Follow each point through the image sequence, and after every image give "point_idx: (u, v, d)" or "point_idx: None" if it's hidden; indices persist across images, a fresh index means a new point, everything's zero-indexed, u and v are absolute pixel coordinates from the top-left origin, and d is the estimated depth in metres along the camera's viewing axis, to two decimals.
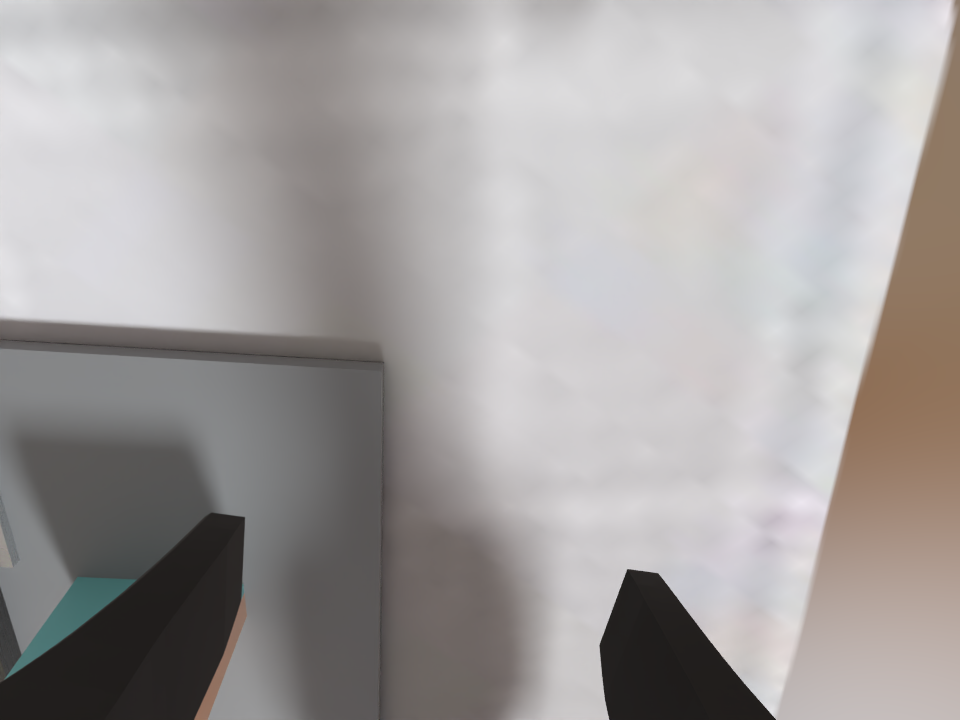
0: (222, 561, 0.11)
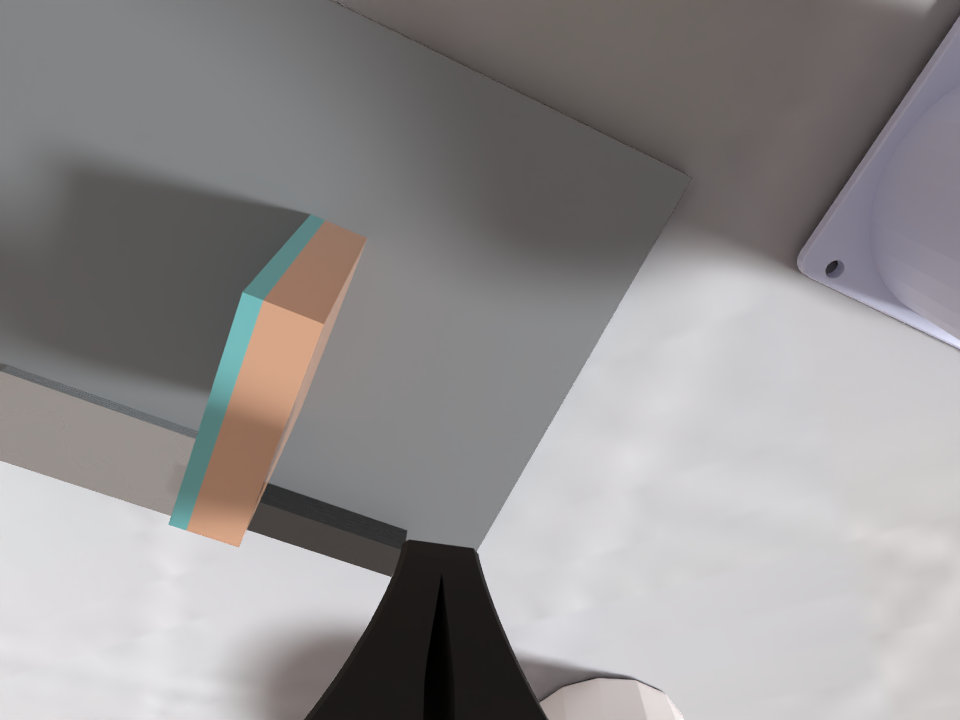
0: None
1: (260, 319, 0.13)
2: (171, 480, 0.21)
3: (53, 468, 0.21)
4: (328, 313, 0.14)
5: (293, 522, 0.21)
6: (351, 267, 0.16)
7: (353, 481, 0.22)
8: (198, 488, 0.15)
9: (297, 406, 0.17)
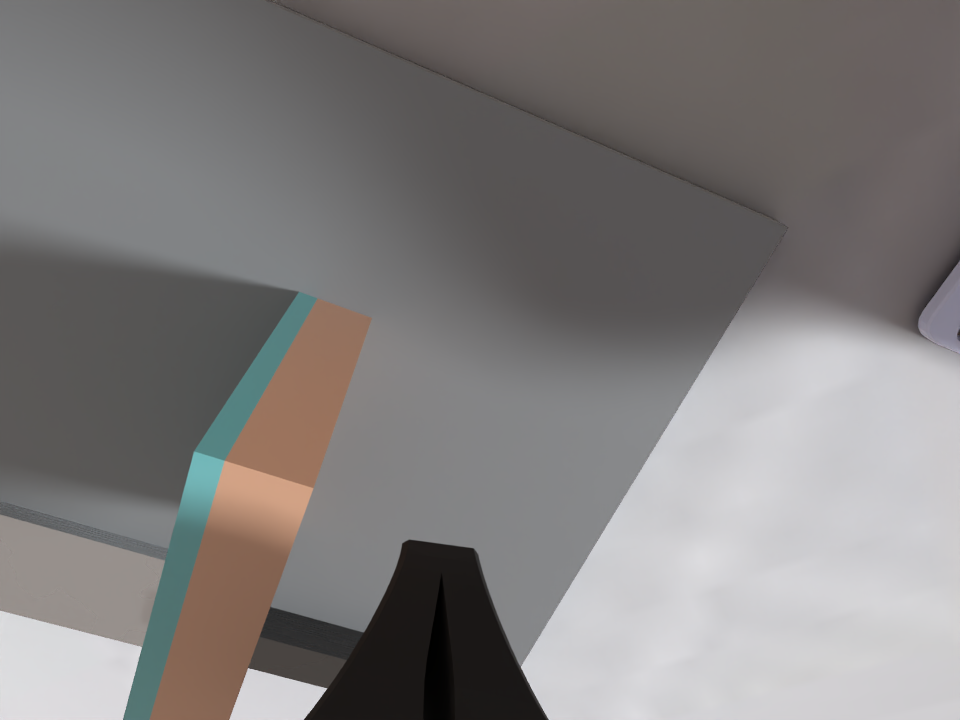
0: None
1: (222, 485, 0.09)
2: (144, 609, 0.17)
3: (1, 601, 0.17)
4: (320, 464, 0.10)
5: (294, 656, 0.17)
6: (352, 371, 0.12)
7: (366, 600, 0.18)
8: (154, 693, 0.11)
9: None
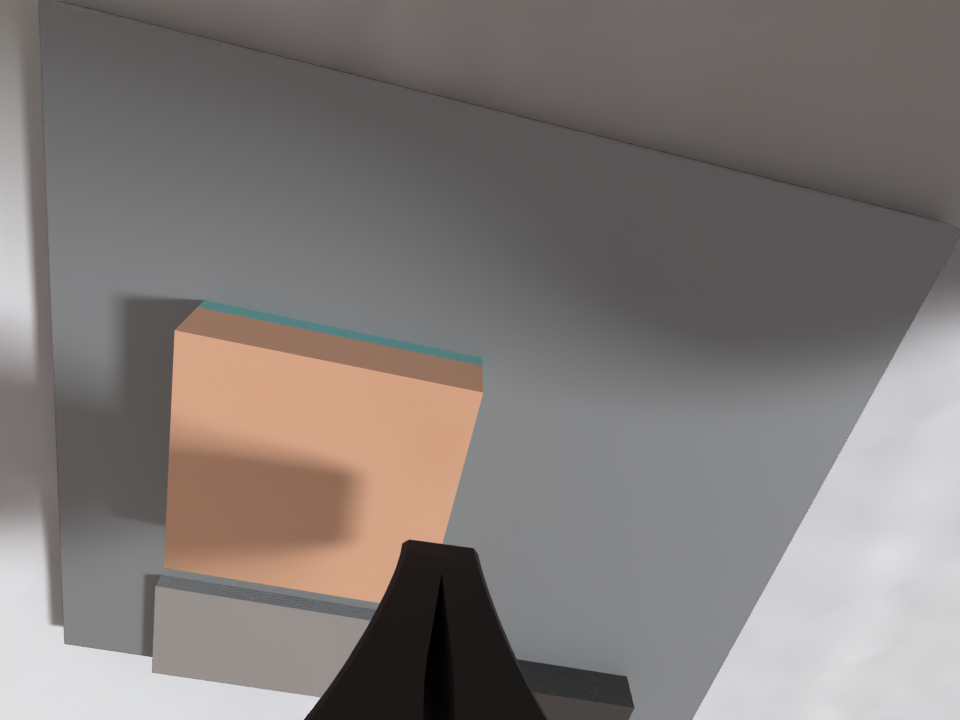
0: None
1: None
2: None
3: (225, 674, 0.19)
4: (205, 336, 0.13)
5: None
6: (356, 367, 0.13)
7: (560, 635, 0.19)
8: None
9: (288, 503, 0.15)
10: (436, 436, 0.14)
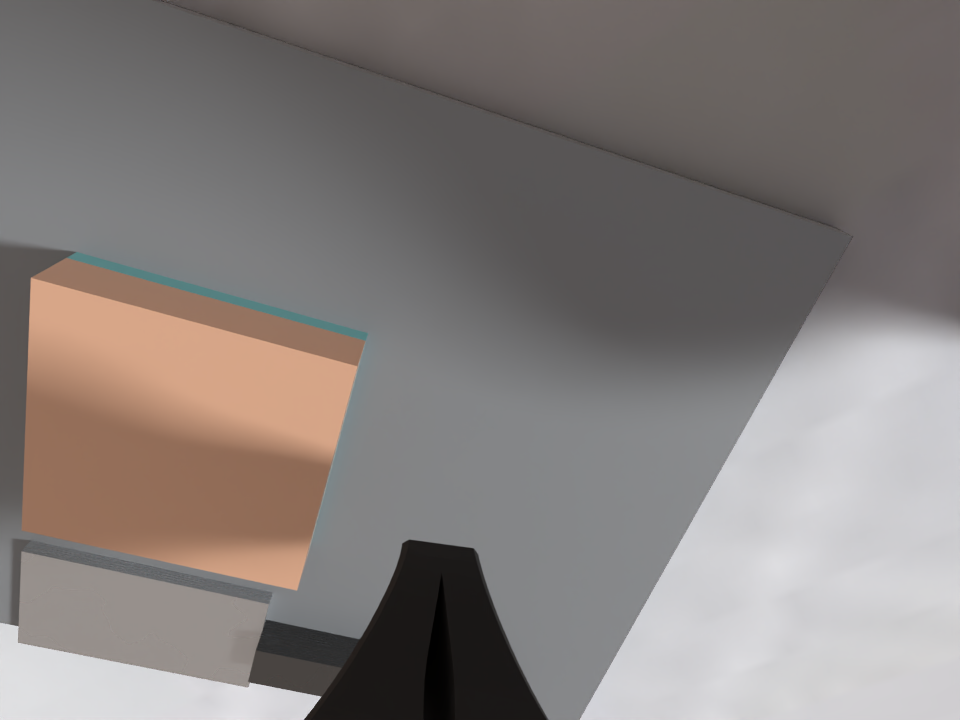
0: None
1: None
2: (233, 648, 0.18)
3: (96, 649, 0.18)
4: (63, 286, 0.12)
5: None
6: (225, 330, 0.13)
7: None
8: None
9: (153, 469, 0.14)
10: (308, 409, 0.13)
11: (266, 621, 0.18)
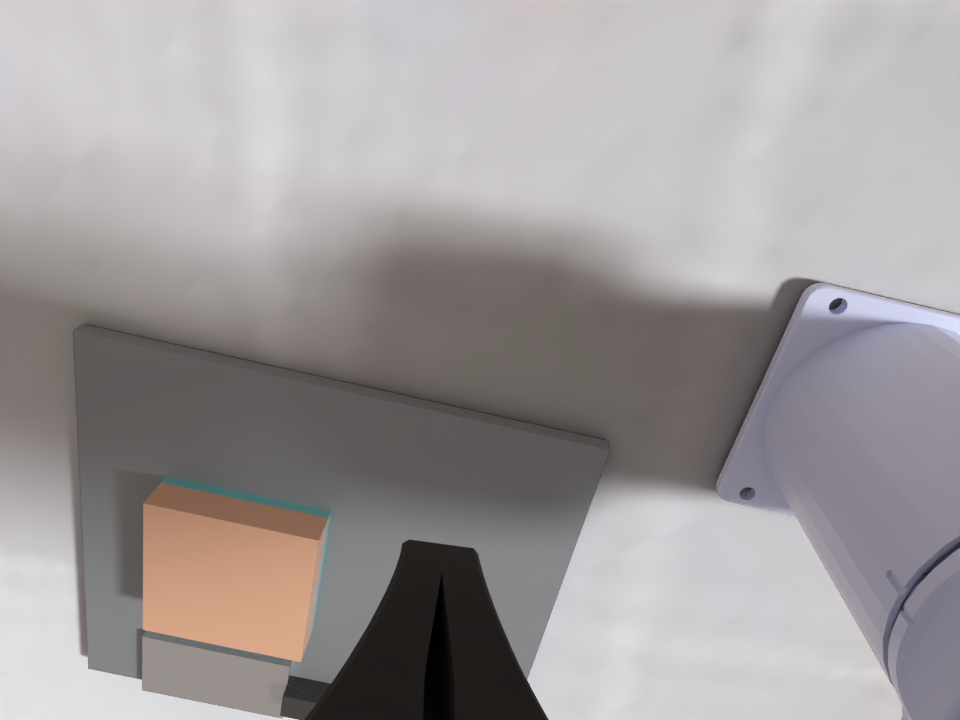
0: None
1: None
2: (270, 693, 0.28)
3: (188, 694, 0.29)
4: (160, 506, 0.23)
5: None
6: (245, 524, 0.23)
7: None
8: None
9: (212, 596, 0.24)
10: (295, 563, 0.24)
11: (290, 676, 0.28)
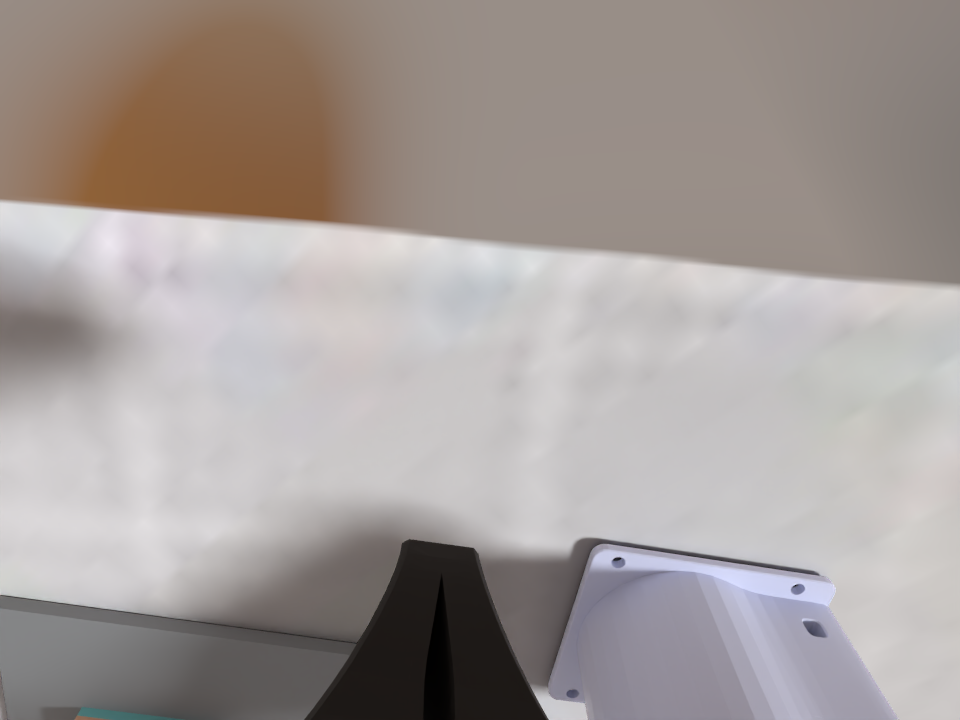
0: None
1: None
2: None
3: None
4: None
5: None
6: None
7: None
8: None
9: None
10: None
11: None
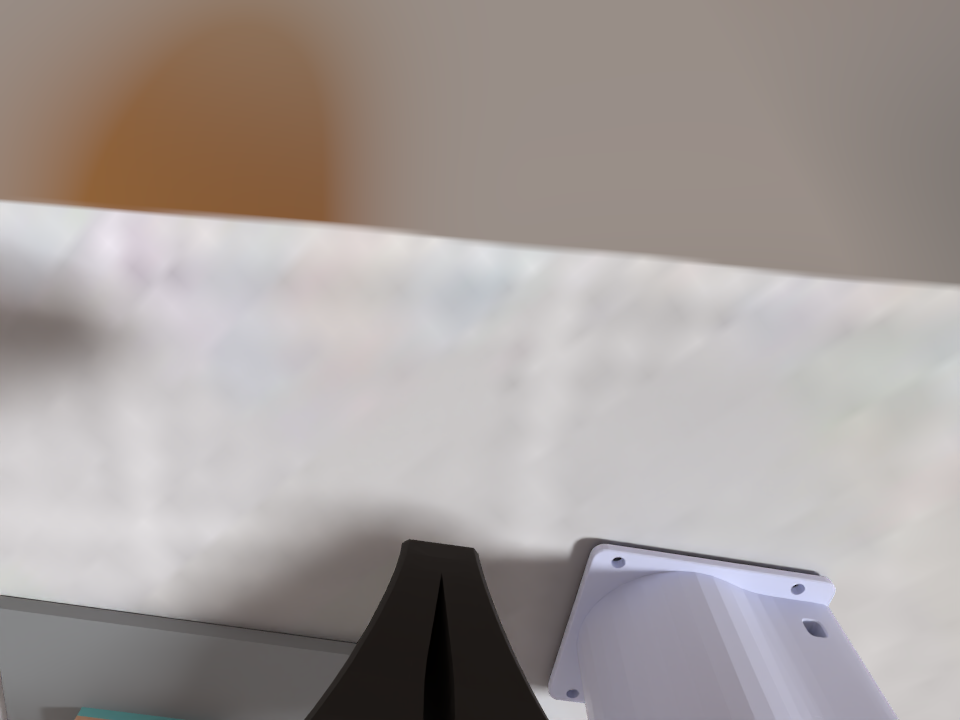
0: None
1: None
2: None
3: None
4: None
5: None
6: None
7: None
8: None
9: None
10: None
11: None
